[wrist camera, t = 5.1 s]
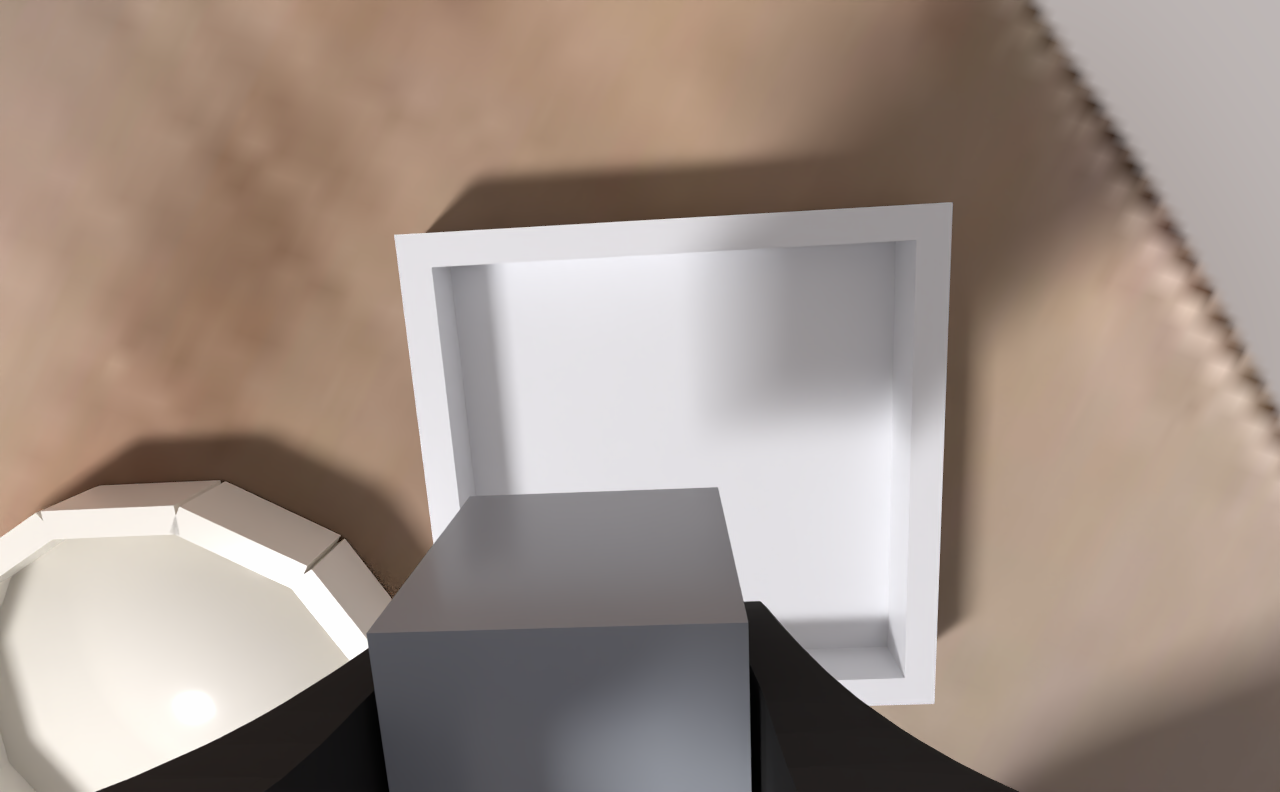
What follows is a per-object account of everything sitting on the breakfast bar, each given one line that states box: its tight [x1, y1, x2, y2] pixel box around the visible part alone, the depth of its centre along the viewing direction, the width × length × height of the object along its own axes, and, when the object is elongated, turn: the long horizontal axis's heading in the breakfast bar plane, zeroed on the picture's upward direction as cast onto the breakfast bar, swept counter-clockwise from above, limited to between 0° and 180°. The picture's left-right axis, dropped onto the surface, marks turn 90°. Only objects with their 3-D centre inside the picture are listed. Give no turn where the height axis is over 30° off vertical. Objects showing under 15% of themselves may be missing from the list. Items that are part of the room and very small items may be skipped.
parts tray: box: [394, 202, 953, 706], centre depth 19 cm, size 13×13×2 cm
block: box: [366, 487, 751, 792], centre depth 11 cm, size 5×4×4 cm
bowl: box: [0, 480, 392, 792], centre depth 21 cm, size 14×14×2 cm
